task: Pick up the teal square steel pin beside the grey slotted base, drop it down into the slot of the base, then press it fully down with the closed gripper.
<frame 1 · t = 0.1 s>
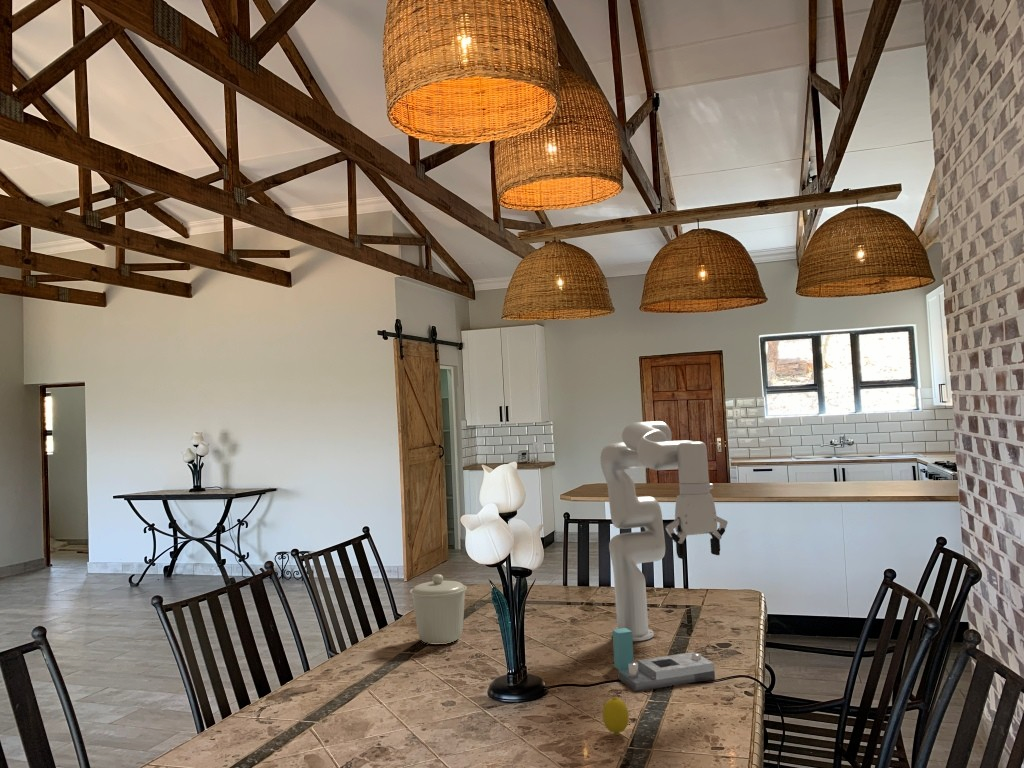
hand: (698, 556, 204), 31 cm above the table, tool pointing down, fingers open, 9 cm apart
grey slotted base: (666, 678, 205), on the table
canister: (440, 641, 252), on the table
lemon: (616, 735, 171), on the table
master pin: (624, 667, 216), on the table
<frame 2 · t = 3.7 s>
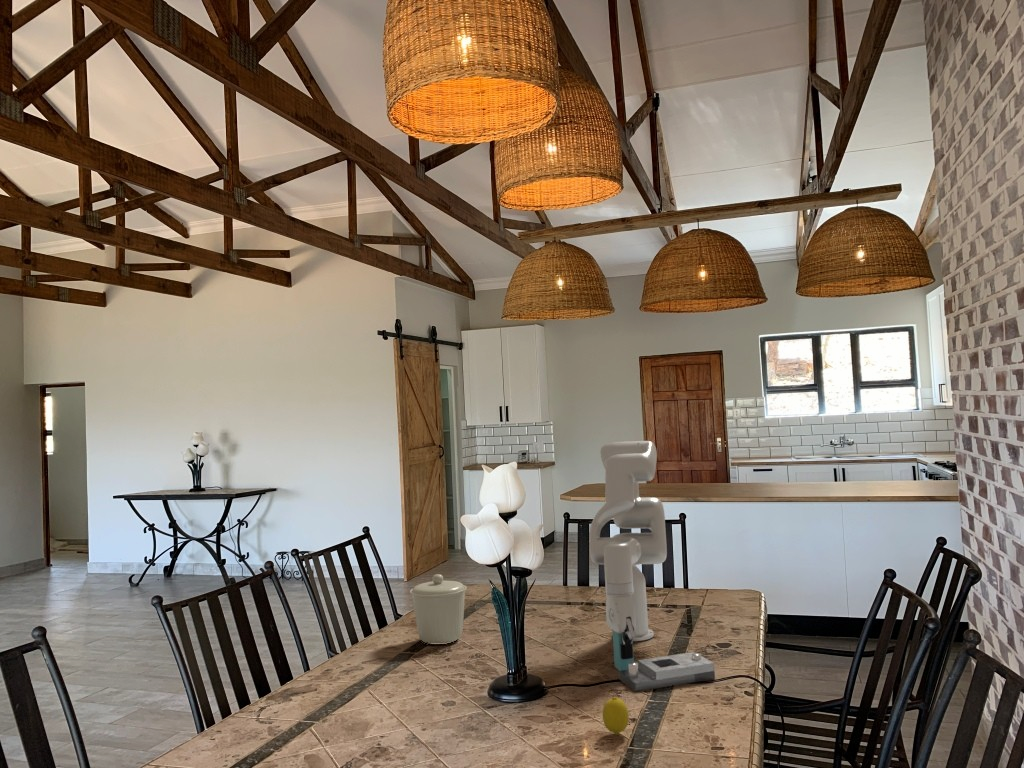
hand: (623, 655, 216), 3 cm above the table, tool pointing down, fingers closed on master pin, 4 cm apart
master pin: (624, 667, 216), on the table, touching gripper
everything else where it was.
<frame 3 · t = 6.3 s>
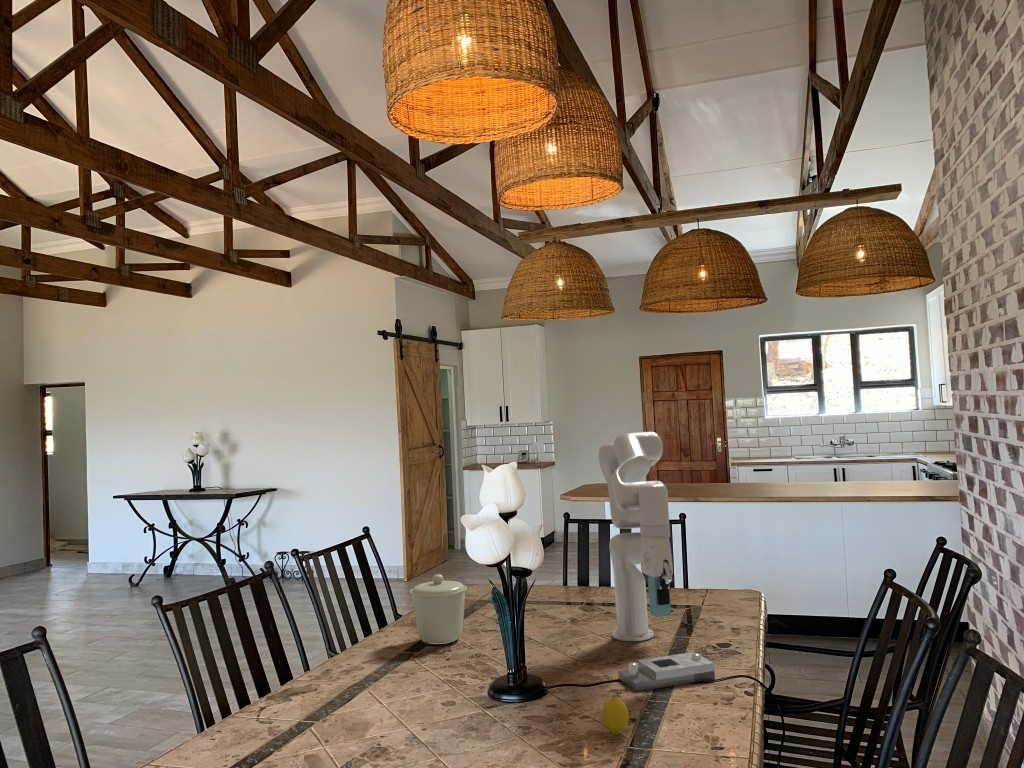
hand: (659, 601, 206), 20 cm above the table, tool pointing down, fingers closed on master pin, 4 cm apart
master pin: (660, 614, 206), point 16 cm above the table, touching gripper
everything else where it was.
when the fingers open (7 cm above the table, at t = 9.1 s): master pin drops 3 cm, resting in grey slotted base.
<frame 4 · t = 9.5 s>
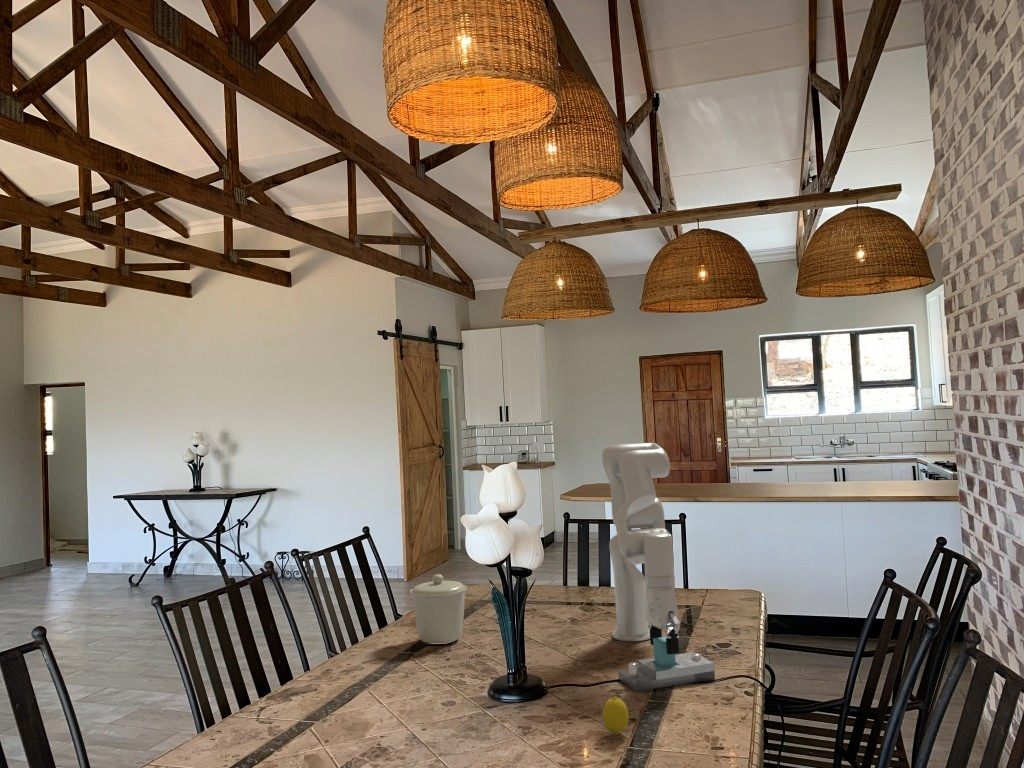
hand: (664, 648, 205), 8 cm above the table, tool pointing down, fingers open, 8 cm apart
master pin: (666, 678, 205), resting in grey slotted base
everything else where it was.
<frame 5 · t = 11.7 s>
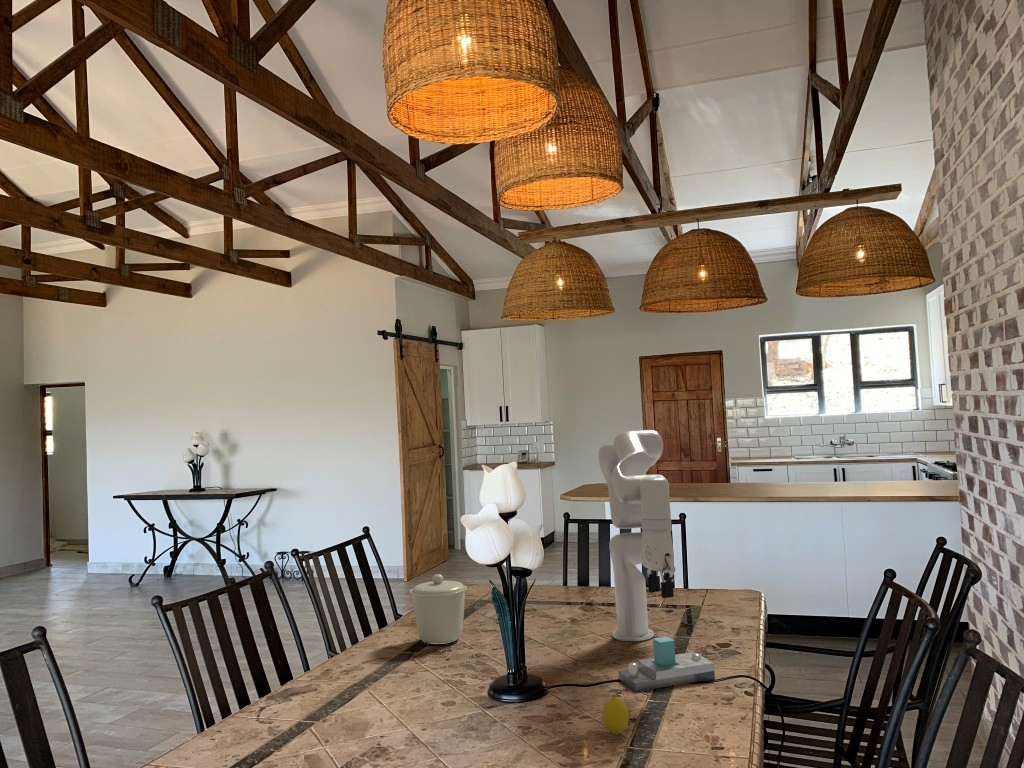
hand: (661, 593, 206), 22 cm above the table, tool pointing down, fingers open, 6 cm apart
nothing on the table moved.
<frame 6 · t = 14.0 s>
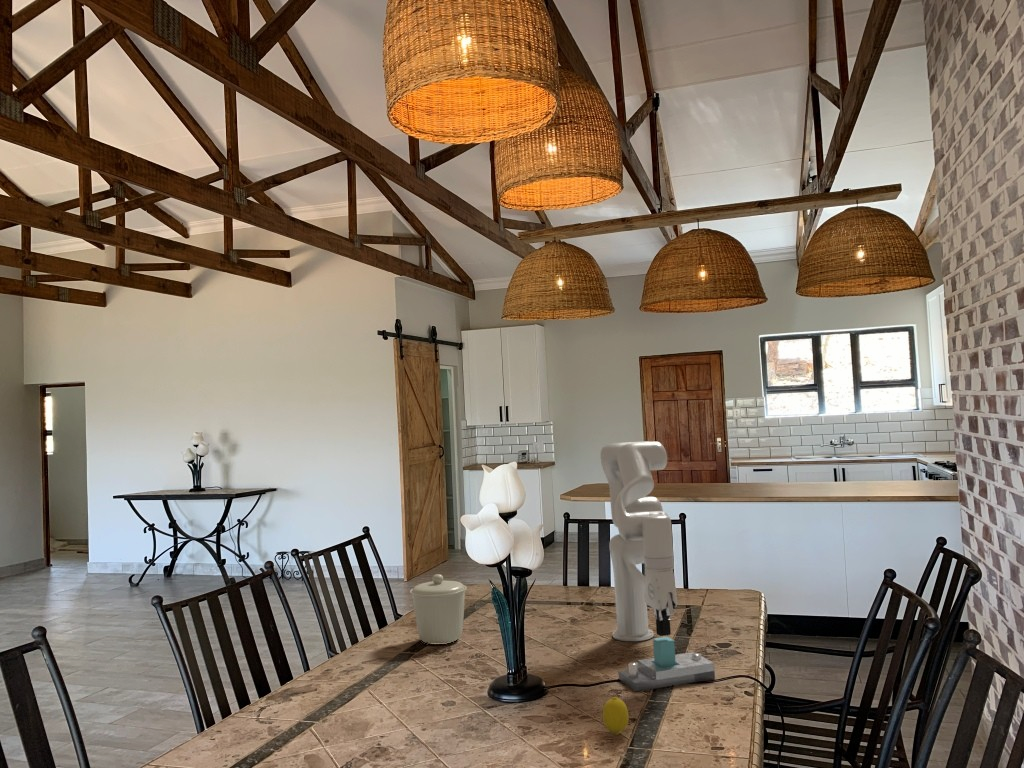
hand: (663, 634, 205), 11 cm above the table, tool pointing down, fingers closed
nothing on the table moved.
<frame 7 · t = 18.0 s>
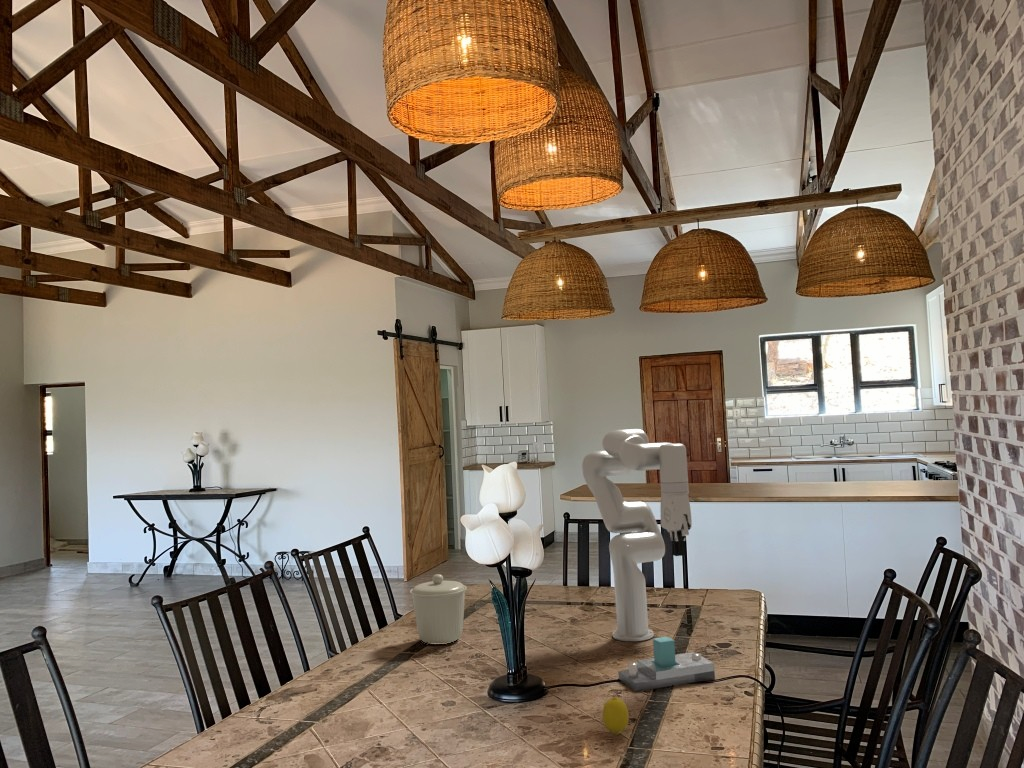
hand: (679, 555, 219), 29 cm above the table, tool pointing down, fingers closed
nothing on the table moved.
at the end: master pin 0.2 cm off-centre on the grey slotted base, point 0.0 cm above the grey slotted base's base; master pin tilted 0°; the gripper is holding nothing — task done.
